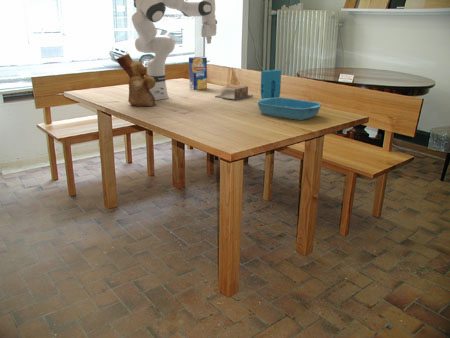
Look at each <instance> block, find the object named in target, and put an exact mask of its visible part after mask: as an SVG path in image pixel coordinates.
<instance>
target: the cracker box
mask: <svg viewBox="0 0 450 338" xmlns="http://www.w3.org/2000/svg"><path fill="white" fill-rule="evenodd" d="M207 58H208V57H206V56H205V57H204V56H192V57H191V56H190V57H188V75H189V76H188V77H189V78H188V80H189V89H191V90H193V91H194V90H195V91H196V90H204V89H208V72H207V71H208V66H207V65H208V63H207V60H208V59H207Z"/></svg>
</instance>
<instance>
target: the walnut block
mask: <svg viewBox="0 0 450 338" xmlns="http://www.w3.org/2000/svg"><path fill="white" fill-rule="evenodd" d="M220 92H221V93H220V95H221V97H222V98H221V99H225V98H229V99H228V100H232V99H236V98H240V97H244V96H248V95H249V85H248V86H247V85H238V84H234V85H230V86H225V87H221V88H220Z"/></svg>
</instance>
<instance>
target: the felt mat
mask: <svg viewBox="0 0 450 338" xmlns="http://www.w3.org/2000/svg"><path fill="white" fill-rule="evenodd" d="M253 96H254V95H253V94H248V96H244V97H240V98H236V99H231V100H234V101H239V100H243V99H247V98H250V97H253ZM214 98H220V99H223V98H222V97H221V94H218V95H215V96H214ZM224 99H227V100H230V99H229V98H224Z"/></svg>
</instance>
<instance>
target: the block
mask: <svg viewBox="0 0 450 338" xmlns="http://www.w3.org/2000/svg"><path fill="white" fill-rule="evenodd" d="M281 82H282V70H280V69H269V70H267V69H266V70H261V72H260V97H261V99H266V98H275V97H280V95H281V89H282V87H281V86H282V85H281Z"/></svg>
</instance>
